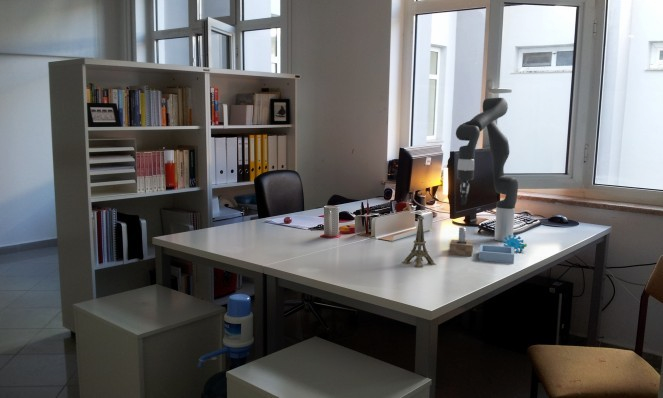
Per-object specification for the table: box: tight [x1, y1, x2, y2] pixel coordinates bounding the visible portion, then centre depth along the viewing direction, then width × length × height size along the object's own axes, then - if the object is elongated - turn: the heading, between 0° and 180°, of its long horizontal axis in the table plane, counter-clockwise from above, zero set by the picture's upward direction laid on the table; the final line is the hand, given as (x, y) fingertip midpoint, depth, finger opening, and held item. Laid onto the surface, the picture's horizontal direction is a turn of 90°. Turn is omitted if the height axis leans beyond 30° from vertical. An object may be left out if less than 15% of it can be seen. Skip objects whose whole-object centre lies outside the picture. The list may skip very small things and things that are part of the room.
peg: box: [458, 226, 467, 244], centre depth 268 cm, size 3×3×12 cm
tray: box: [478, 244, 515, 264], centre depth 260 cm, size 15×15×4 cm
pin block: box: [448, 239, 474, 257], centre depth 269 cm, size 10×10×5 cm
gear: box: [502, 234, 528, 253], centre depth 276 cm, size 11×6×10 cm
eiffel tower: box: [401, 214, 437, 269], centre depth 246 cm, size 11×11×25 cm
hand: (464, 203), depth 266 cm, fingers open, 8 cm apart
